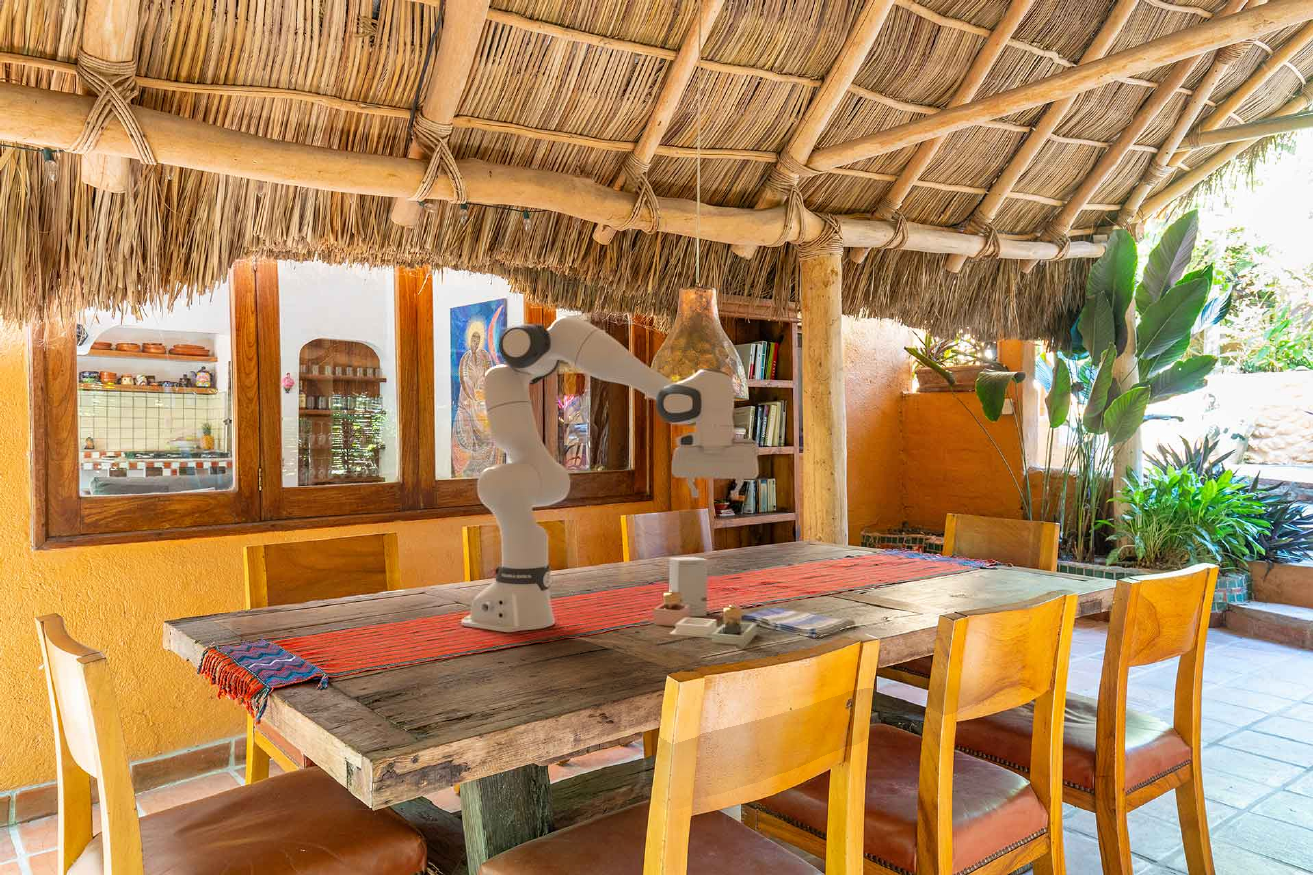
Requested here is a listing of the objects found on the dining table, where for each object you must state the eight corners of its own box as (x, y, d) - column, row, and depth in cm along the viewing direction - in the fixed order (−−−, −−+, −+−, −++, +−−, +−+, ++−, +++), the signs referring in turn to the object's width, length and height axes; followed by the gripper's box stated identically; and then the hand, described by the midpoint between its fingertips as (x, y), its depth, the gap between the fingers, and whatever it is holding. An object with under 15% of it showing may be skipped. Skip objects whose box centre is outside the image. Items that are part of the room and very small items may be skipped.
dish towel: (816, 641, 195) (816, 629, 195) (736, 624, 212) (736, 612, 212) (858, 629, 207) (858, 617, 207) (779, 613, 224) (779, 602, 224)
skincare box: (677, 621, 213) (677, 560, 212) (667, 616, 218) (667, 557, 218) (708, 618, 216) (708, 558, 216) (697, 613, 221) (697, 555, 221)
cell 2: (721, 641, 190) (721, 606, 190) (725, 636, 194) (725, 603, 194) (739, 642, 189) (739, 607, 189) (743, 638, 193) (743, 604, 193)
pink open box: (653, 627, 206) (653, 609, 206) (662, 621, 212) (662, 603, 212) (681, 629, 203) (681, 611, 203) (690, 623, 210) (690, 605, 210)
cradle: (669, 637, 196) (669, 624, 196) (681, 628, 204) (681, 616, 204) (712, 641, 193) (712, 627, 193) (722, 631, 201) (722, 619, 201)
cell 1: (660, 622, 207) (660, 591, 207) (668, 619, 210) (668, 588, 210) (676, 624, 205) (676, 592, 205) (683, 621, 209) (683, 589, 208)
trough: (712, 645, 189) (712, 633, 189) (726, 632, 201) (726, 621, 201) (743, 648, 186) (743, 636, 186) (756, 634, 199) (756, 623, 199)
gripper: (761, 438, 201) (761, 497, 202) (677, 438, 208) (677, 495, 208) (756, 438, 195) (755, 500, 196) (669, 438, 202) (669, 497, 202)
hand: (714, 497), depth 202 cm, fingers open, 8 cm apart
